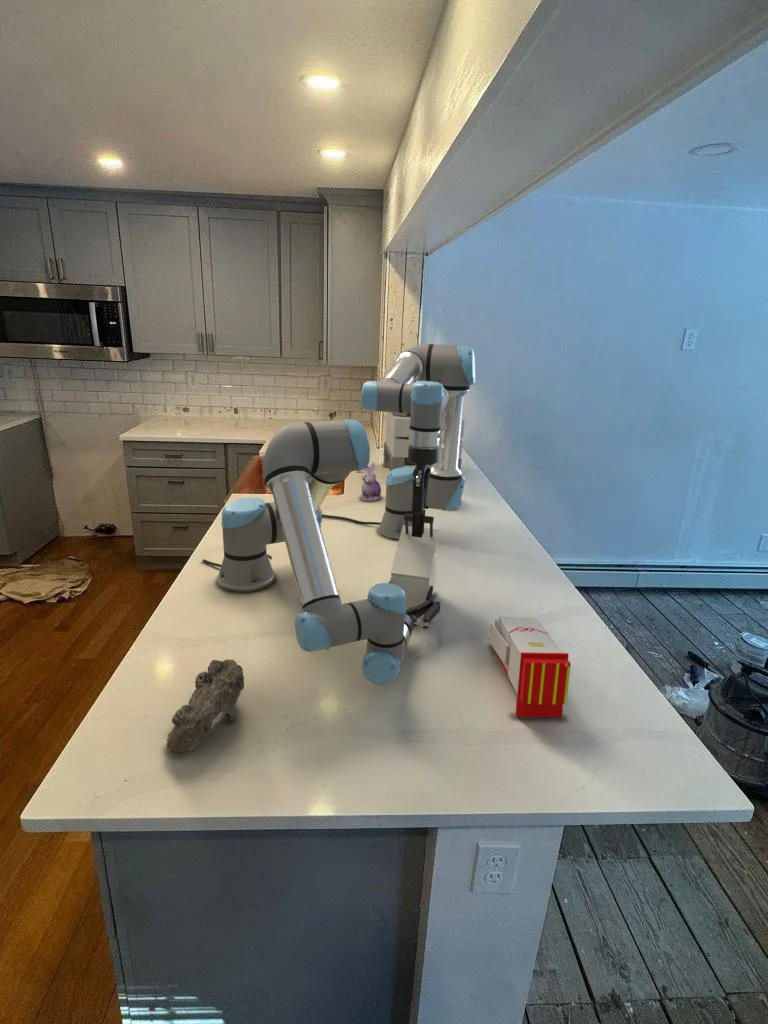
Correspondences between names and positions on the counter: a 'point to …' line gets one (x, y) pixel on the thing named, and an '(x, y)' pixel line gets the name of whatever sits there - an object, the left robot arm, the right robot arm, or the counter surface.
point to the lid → (415, 551)
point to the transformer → (402, 441)
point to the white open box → (416, 587)
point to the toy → (531, 665)
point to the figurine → (370, 485)
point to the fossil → (206, 705)
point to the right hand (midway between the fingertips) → (417, 534)
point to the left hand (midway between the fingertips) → (411, 587)
